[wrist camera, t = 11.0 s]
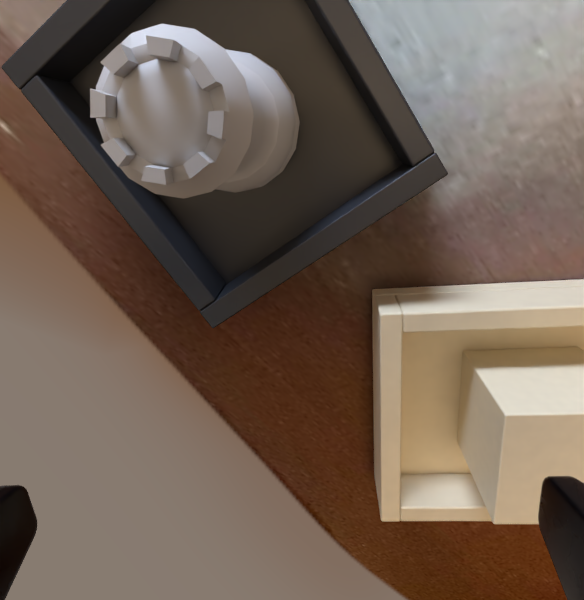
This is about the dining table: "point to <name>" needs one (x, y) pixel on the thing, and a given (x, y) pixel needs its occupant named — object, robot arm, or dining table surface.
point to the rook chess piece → (193, 114)
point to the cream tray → (448, 381)
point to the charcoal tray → (280, 190)
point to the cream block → (521, 425)
